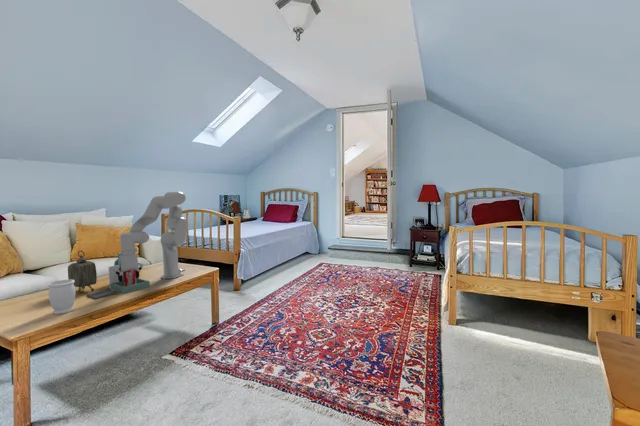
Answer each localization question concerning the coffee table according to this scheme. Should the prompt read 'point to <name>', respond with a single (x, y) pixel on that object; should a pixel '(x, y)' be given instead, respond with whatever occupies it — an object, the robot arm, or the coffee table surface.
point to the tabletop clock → (82, 273)
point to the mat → (102, 294)
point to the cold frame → (118, 285)
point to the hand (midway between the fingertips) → (129, 279)
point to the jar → (62, 296)
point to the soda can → (129, 277)
